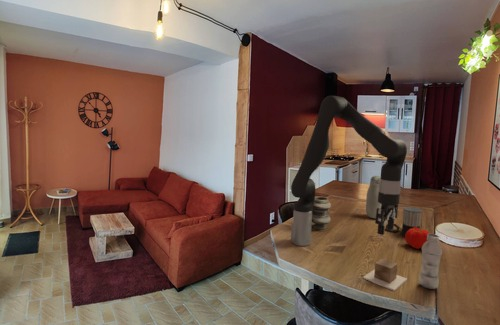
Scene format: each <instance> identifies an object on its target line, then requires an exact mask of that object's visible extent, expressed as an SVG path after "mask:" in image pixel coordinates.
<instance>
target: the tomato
mask: <svg viewBox="0 0 500 325" xmlns="http://www.w3.org/2000/svg"><path fill="white" fill-rule="evenodd" d="M428 234H430V233H429V231H428V230H426V229H421V228H420V229H419V228H417V227H414V228H413V229H409V230H408V231H407V233H406V235H405V236H404V238H405V242H406V244H408V245H409V246H410V247H411V248H414V249H416V250H418V249H421V250H422V246H423V244H424V243H425V242H426V241H427V235H428Z"/></svg>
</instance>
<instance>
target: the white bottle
mask: <svg viewBox="0 0 500 325" xmlns="http://www.w3.org/2000/svg"><path fill="white" fill-rule="evenodd" d="M380 177H381V175H380V176H379V175H374V176H371V178H370V181H369V186H368V188H367V192H366V198H365V201H366V202H365V213H366V215H367V216H368V218H370V219H375V220H376V211H377V208H380V209H381V205H382V204H381V203H379V202H378V192H379V183H380Z"/></svg>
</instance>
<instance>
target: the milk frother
mask: <svg viewBox="0 0 500 325" xmlns="http://www.w3.org/2000/svg"><path fill="white" fill-rule="evenodd" d="M402 209H403V215H402V227H400V226H399V225H398V224H396V223H394V227H395V228H396V229H393V230H390V229H388V228H387V224H385V230H387V231H388V232H391V233H397V232H399V231H400V230H401V233H400V234H401V235H403V236H404V237H405V235H406V233H407V231H408V230H409V229H413V228H414V227H417V228H419V229H420V230H421V221H422V212H423V209H420V208H419V207H412V206H405V207H404V206H403V208H402Z"/></svg>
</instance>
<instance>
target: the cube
mask: <svg viewBox="0 0 500 325" xmlns="http://www.w3.org/2000/svg"><path fill="white" fill-rule="evenodd" d="M374 269H375V274H374V277H375V278H377V279H380V280H382V281H385V282H387V283H391V282H392V281H394V280H395V279H396V276H397V275H398V263H396V262H393V261H390V260H387V259H385V258H381V259H379V260H377V261H376V262H375V263H374Z"/></svg>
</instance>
